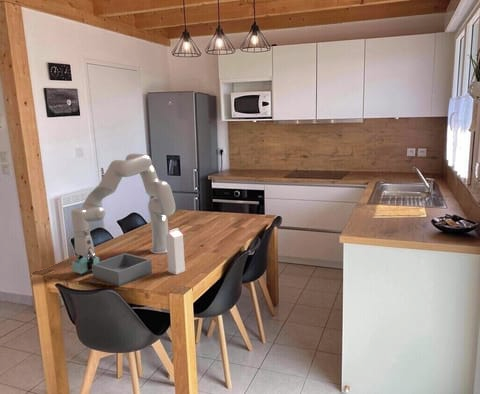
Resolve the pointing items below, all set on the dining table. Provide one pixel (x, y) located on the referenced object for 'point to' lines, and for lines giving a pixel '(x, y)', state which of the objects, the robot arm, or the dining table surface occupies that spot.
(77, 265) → the small crate
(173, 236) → the milk
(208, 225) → the dining table surface
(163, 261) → the dining table surface
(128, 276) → the large crate
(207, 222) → the dining table surface
